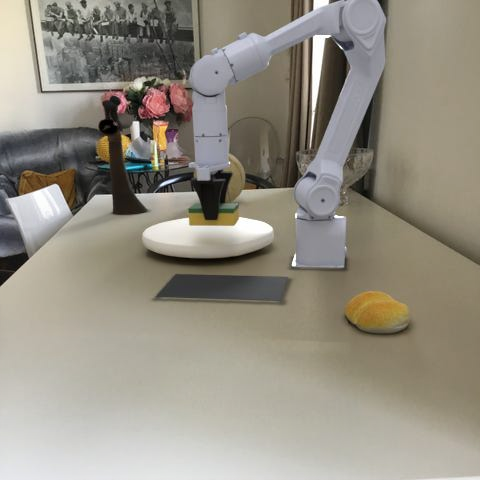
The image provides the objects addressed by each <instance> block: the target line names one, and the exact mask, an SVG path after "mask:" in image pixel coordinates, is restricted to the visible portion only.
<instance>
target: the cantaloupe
mask: <svg viewBox="0 0 480 480" xmlns="http://www.w3.org/2000/svg"><path fill="white" fill-rule="evenodd" d="M228 156H229V162H230V167H229V168H226V169H223V171H232V172H233V175H232V178H231V180H230V182H229V186H228V189H227V194H226V201H225V203H233V201H235V200H236V199H237V198H239V196H240V195H241V194H242V192H243V190H244V188H245V185H246V184H245V183H246V172H245V169H244V167H243V165H242V164H241V163H242V162H240V161H239V159H238V158H237V157H236V156H235V155H233V154H232V153H229V152H228ZM193 178H197V170H196V169H195V168H194V171H193Z"/></svg>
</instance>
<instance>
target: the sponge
mask: <svg viewBox="0 0 480 480" xmlns="http://www.w3.org/2000/svg"><path fill="white" fill-rule="evenodd" d="M239 207H240V205H239V202H229V203H220V204H219V214H218V218H217V220H205V218H204V215H203V211H202V207H201V204H200V202H194V203H193V204H192V205H191V206H189V207H188V209H187V210H188V218H189V225H190V226H234V225H235V224H236V223H237V221H238V220H239V217H240V213H239V212H240V209H239Z"/></svg>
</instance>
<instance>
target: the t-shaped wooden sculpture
mask: <svg viewBox="0 0 480 480" xmlns="http://www.w3.org/2000/svg"><path fill="white" fill-rule="evenodd" d="M101 104H102V107H103V111H104V113H103V114H104V119H101V120H99V122H98V125H97V126H98V127H97V128H98V131H99V132H100V134H102V136H105V137H107V143H108V144H107V145H108V156H109V157H108V158H109V177H110V186H111V199H112V214H115V215H130V214H131V215H133V214H140V213H146V212H148V208H147V207H146V206H145V205H144V204H143V203H142V202H141V201H140V199H139V198H138V197H137V195H136V193H135V192H134V190H133V188H132V185H131V183H130V179H129V175H128V171H127V168H126V163H125V158H124V149H123V138H122V133H123V130H126V129H129V128H131V127H132V126H133V123H134V119H133V117H132V116H131V115H130V114H128V113H120V114H118V111H119V106H120V105H121V104H122V100H121V98H120V97H119V96H117V95H111V96H110V97H109V99H105V100H103V101H101Z"/></svg>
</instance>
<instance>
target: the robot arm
mask: <svg viewBox="0 0 480 480" xmlns="http://www.w3.org/2000/svg"><path fill="white" fill-rule="evenodd" d="M381 6H382V5H381V4H380V3H379V1H378V0H338V1H337V0H336V1H334V2H332V3H329V4H325V5H323V6H320V7H317V8H315V9H313V10H312V11H310V12H307V13H306V14H304V15H302V16H301V17H298V18H297V19H295V20H293V21H291V22H290V23H288V24H287V23H286V24H285V25H284V26H282V27H280V28H279V29H277V30H275V31H273V32H271V33H269V34H268V35H265V36H263V35H260V34H258V33H256V32H250V33H249V34H247V32H245V31H244V32H242V33H240V34H239V35H237V40H234V41H233V42H231V43H230V44H227V45H226V46H224V47H222V48H220V49H218V47H215V48H213V49H211V50H210V53H211V54H206V55H204V56H202V57H201V58H200V59H198V60H197V61H196V62H194V63H193V65H192V66H191V68H190V71H189V77H188V83H189V85H190V87H191V89H192V90H193V91H192V95H191V101H192V103H193V106H191V107H192V108H191V110H192V112H191V113H192V127H193V128H192V129H193V144H194V145H193V146H194V161H191V162H189V163H188V168H191V169H194V170H195V169H196V170H197V178H194V177H192V178H191V179H190V183H191V186H192V187H193V188H194V191H195V192H196V193H195V194H196V195H197V197H198V200H199V203H200V204H201V207H202V211H203V215H204V218H205V220H217V218H218V214H219V204H220V203H225V201H226V194H227V189H228V186H229V182H230V180H231V178H232V175H233V172H232V171H223V169H226V168H229V167H230V162H229V156H228V153H229V134H228V133H229V132H228V131H229V130H228V108H227V107H228V106H227V105H226V91H225V90H226V88H227V86H228V85H231V86H235V85H237V84H239V83H241V82H243V81H244V80H247V79H248V78H250V77H252V76H255V75H256V74H258V73H260V72H262V71H265V70H267V69H268V67H269V64H270V61H271V59H272V57H273V56H275V55H277V54H278V53H281V52H283V51H285V50H287V49H289V48H291V47H294V46H296V45H298V44H300V43H302V42H304V41H307V40H309V39H310V38H312V37H317V38H323V39H327V38H330V37H331V39H332V40H333V41H334V42H335V43H336V44H337V46H339V48H340V49H341V50H343V53H344V55H345V57H346V60H347V62H348V64H349V66H350V69H349V71H348V73H347V77H346V78H345V81H344V84H343V87H342V89H341V92H340V94H339V96H338V99H337V102H336V104H335V106H334V109H333V112H332V114H331V117H330V120H329V122H328V125H327V127H326V130H325V132H324V135H323V138H322V139H321V142H320V144H319V147H318V150H317V153H316V155H315V157H314V159H313V160H312V161H311V162H310V163H309V165H307V168H306V170H305V172H304V174H303V175H302V176H301V178H299V179H298V180H297V182H296V183H295V185H294V187H293V192H292V193H293V194H292V195H293V199H294V201H295V203H296V204H297V206H298V207H297V210H296V212H295V233H294V235H295V240H294V242H295V243H294V247H295V248H294V255H293V259H292V262H291V265H290V266H291V267H293V268H322V269H323V268H324V269H325V268H326V269H327V268H330V269H344V268H345V258H346V257H348V256H347V255H348V247H347V246H346V235H347V216H341V215H340V216H339V215H337V214H336V213H337V212H336V211H337V210H338V208H339V206H340V203H341V202H340V201H341V193H340V192H341V187H342V185H343V182H344V172H343V168H344V166H345V164H346V161H347V159H348V156H349V155H350V152H351V149H352V147H353V144H354V141H355V139H356V137H357V134H358V132H359V130H360V128H361V124H362V122H363V120H364V117H365V115H366V112H367V110H368V107H369V105H370V103H371V101H372V98H373V95H374V93H375V92H376V88H377V86H378V84H379V81H380V78H381V76H382V74H383V72H384V69H385V65H386V46H385V28H386V23H387V17H386V16H385V13H384V10H383V8H382V7H381Z"/></svg>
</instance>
